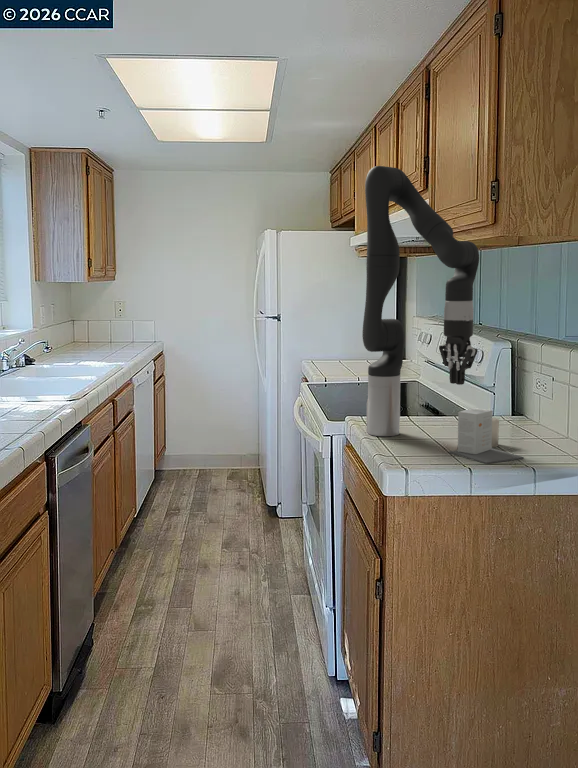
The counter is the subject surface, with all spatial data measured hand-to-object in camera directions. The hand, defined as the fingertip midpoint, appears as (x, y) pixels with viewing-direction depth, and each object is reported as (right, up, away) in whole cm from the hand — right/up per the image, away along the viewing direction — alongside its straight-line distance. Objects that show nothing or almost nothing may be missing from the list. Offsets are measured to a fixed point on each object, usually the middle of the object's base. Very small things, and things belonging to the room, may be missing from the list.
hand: (457, 383), depth 206 cm
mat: (+5, -18, -8) cm, 21 cm away
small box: (+3, -18, -4) cm, 18 cm away
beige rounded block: (+9, -17, +5) cm, 19 cm away
